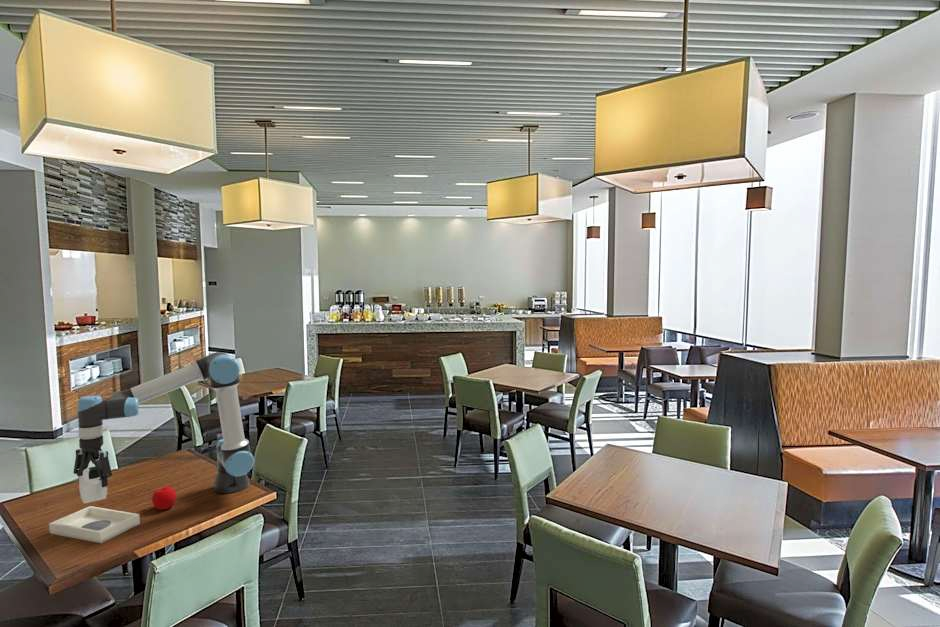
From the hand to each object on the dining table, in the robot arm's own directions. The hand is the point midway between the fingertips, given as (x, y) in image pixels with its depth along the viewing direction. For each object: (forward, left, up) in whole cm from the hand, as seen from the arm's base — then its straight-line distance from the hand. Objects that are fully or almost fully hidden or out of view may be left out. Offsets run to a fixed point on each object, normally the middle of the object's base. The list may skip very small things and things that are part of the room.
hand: (93, 493), depth 203 cm
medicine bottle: (0, 0, -2) cm, 2 cm away
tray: (0, 0, -14) cm, 14 cm away
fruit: (-10, -23, -14) cm, 29 cm away
